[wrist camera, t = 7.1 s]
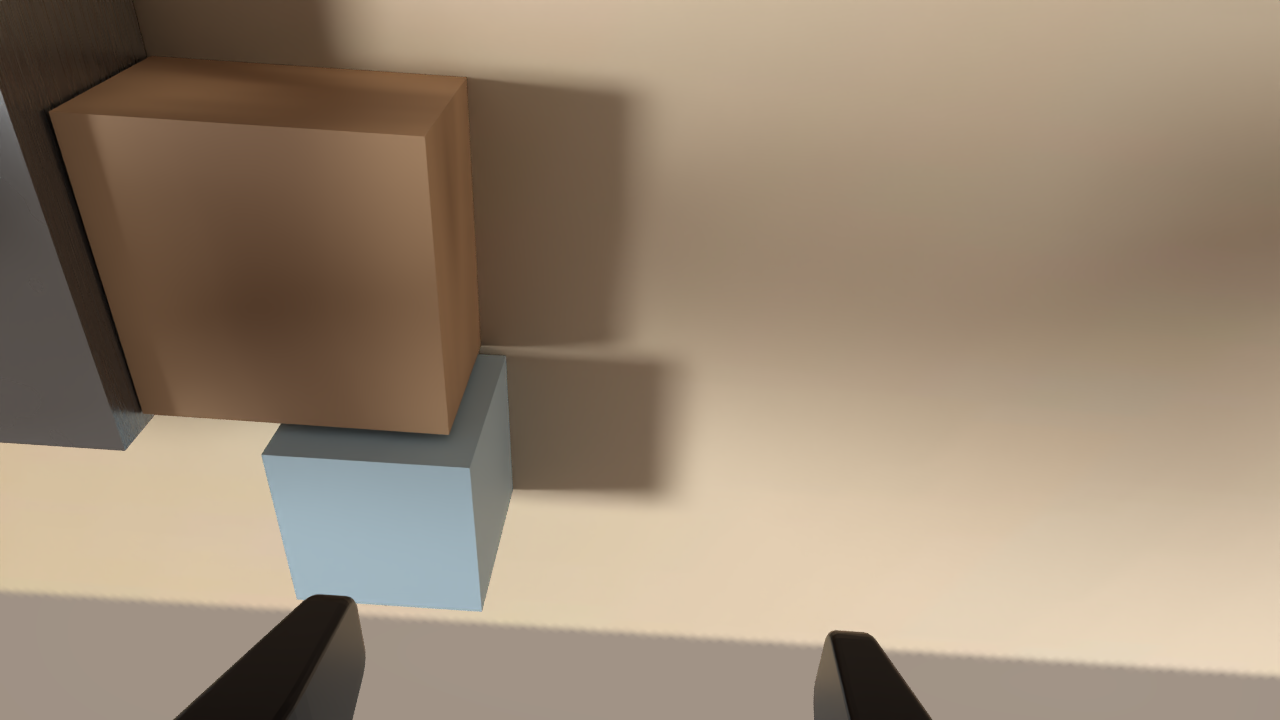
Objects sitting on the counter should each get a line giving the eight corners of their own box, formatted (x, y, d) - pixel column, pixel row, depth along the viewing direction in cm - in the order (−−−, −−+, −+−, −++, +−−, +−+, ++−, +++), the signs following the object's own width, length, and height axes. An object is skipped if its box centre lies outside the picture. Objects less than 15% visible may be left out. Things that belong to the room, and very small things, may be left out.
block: (355, 477, 23) (297, 599, 19) (331, 343, 21) (261, 454, 17) (513, 487, 23) (481, 611, 19) (506, 354, 21) (469, 467, 17)
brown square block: (220, 321, 21) (143, 413, 18) (157, 52, 17) (47, 111, 14) (483, 339, 21) (449, 434, 18) (469, 73, 17) (425, 136, 14)
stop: (86, 330, 21) (-31, 440, 17) (-45, -51, 16) (-236, -3, 13) (217, 338, 21) (124, 451, 17) (121, -41, 16) (-28, 10, 13)
